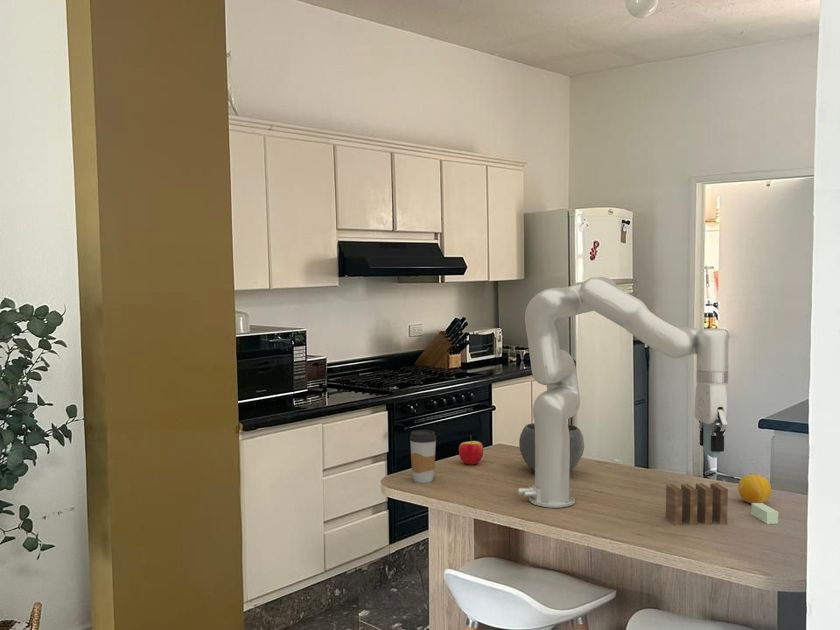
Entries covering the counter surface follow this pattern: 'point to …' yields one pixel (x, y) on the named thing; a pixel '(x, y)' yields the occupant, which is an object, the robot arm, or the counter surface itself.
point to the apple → (471, 452)
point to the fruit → (754, 488)
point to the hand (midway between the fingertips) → (711, 447)
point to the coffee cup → (423, 455)
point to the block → (764, 513)
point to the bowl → (529, 445)
